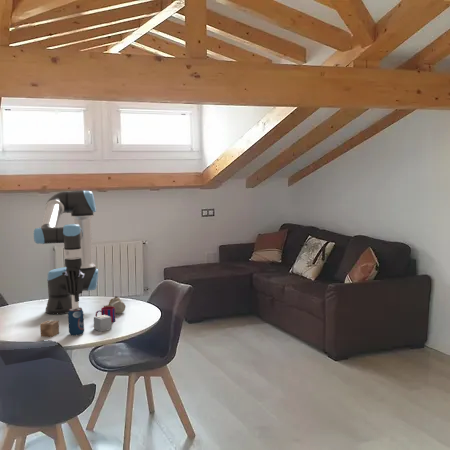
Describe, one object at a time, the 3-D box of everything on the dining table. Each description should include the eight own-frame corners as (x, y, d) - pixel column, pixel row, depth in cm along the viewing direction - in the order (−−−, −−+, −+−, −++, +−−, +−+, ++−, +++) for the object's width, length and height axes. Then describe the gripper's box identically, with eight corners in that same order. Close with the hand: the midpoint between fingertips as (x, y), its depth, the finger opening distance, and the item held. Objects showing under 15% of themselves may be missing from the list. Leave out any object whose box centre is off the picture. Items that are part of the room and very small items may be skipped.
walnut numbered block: (40, 336, 262) (40, 323, 261) (47, 333, 268) (46, 319, 267) (52, 337, 260) (52, 323, 260) (59, 333, 266) (58, 320, 266)
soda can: (83, 335, 261) (81, 310, 260) (67, 336, 261) (66, 311, 260) (85, 331, 268) (84, 306, 267) (70, 332, 268) (69, 307, 266)
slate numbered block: (94, 329, 272) (93, 316, 272) (105, 326, 276) (104, 314, 276) (100, 331, 268) (100, 318, 267) (111, 329, 272) (111, 316, 271)
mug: (117, 321, 284) (116, 308, 283) (97, 324, 279) (97, 311, 279) (112, 318, 290) (112, 305, 289) (93, 321, 285) (93, 308, 284)
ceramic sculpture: (109, 299, 295) (101, 295, 308) (110, 315, 295) (102, 311, 309) (129, 297, 300) (121, 293, 313) (130, 313, 300) (121, 309, 313)
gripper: (56, 258, 261) (59, 308, 264) (76, 260, 254) (79, 311, 257) (69, 255, 267) (71, 305, 270) (89, 257, 261) (91, 308, 263)
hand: (75, 308), depth 263 cm, fingers closed
